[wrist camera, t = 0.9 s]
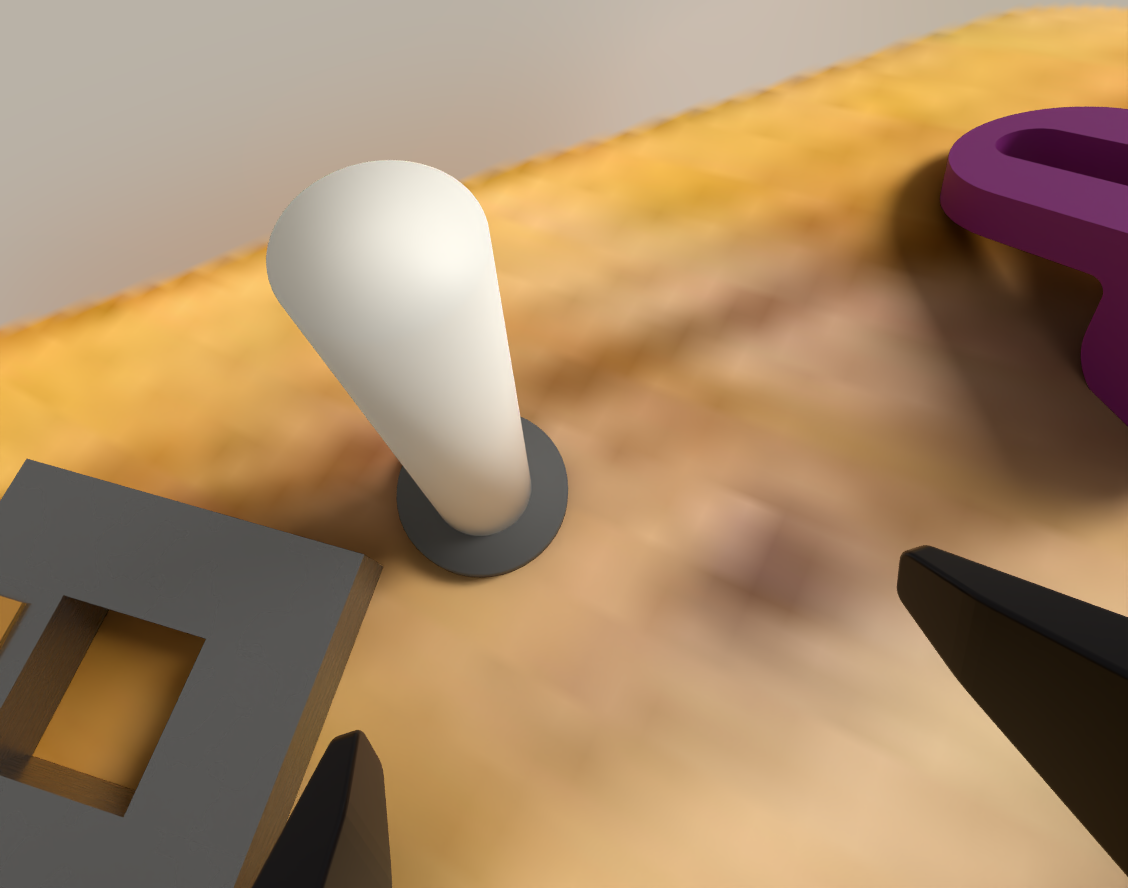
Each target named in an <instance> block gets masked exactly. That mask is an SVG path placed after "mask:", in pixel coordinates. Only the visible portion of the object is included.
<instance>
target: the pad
mask: <svg viewBox="0 0 1128 888" xmlns="http://www.w3.org/2000/svg"><path fill="white" fill-rule="evenodd" d="M520 418H521V424H522V430H523V436H524V442H525V448H526V454H527V460H528V466H529V472H530V478H531V495H530V500H529V502H528V505H527V507H526V509H525V511H524V513H523V514H522V515H521V517H520V518H519V519H518V520H517V521H516V522H515V523H514V524H513V525H511V526H510V527H508V528H507V529H505V530H503V531H501V532H499V533H496V534H492V535H487V536H473V535H468V534H465V533H462V532H459V531H458V530H456V529H454V528H453V527H451V526H450V525H449V524H448V523H446V522H445V520H444V519H443V518H442V517H441V515H440V514H439V513H438V511H437V510H436V509H435V507H434V506H433V505H432V504H431V502H430V501H429V500H428V498H427V497H426V496H425V494H424V493H423V492H422V490H421V489H420V488H419V486H418V485H417V484H416V482H415V481H414V480H413V478H412V477H411V476H410V474H409V473H408V472H407V470H406V469H405V468H404V467H403V465H402V468H401V471H400V474H399V478H398V484H397V508H398V513H399V517H400V520H401V523H402V525H403V528H404V530H405V532H406V533H407V535H408V537H409V539H410V540H411V541H412V543H413V544H414V545H415V546H416V548H417V549H418V550H420V551H421V552H422V553H423V554H424V555H425V556H426V557H427V558H428V559H429V560H431V561H432V562H434V563H435V564H436V565H438V566H440V567H442V568H444V569H446V570H448V571H450V572H453V573H456V574H459V575H464V576H469V577H492V576H498V575H503V574H506V573H509V572H512V571H515V570H517V569H519V568H521V567H523V566H525V565H526V564H528V563H529V562H531V561H532V560H534V559H535V558H536V557H537V556H539V555H540V554H541V553H542V552H543V551H544V550H545V549H546V548H547V547H548V546H549V544H550V543H551V542H552V540H553V539H554V537H555V536H556V534H557V532H558V530H559V528H560V527H561V524H562V522H563V519H564V516H565V512H566V507H567V499H568V480H567V474H566V469H565V465H564V462H563V460H562V457H561V455H560V453H559V451H558V449H557V447H556V446H555V445H554V443H553V442H552V440H551V439H550V438H549V437H548V436H547V435H546V434H545V433H544V432H543V431H542V430H541V429H540V428H539V427H537V426H536V425H535V424H533V423H531V422H530V421H528V420H527V419H524V418H522V417H520Z"/></svg>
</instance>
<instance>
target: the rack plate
mask: <svg viewBox="0 0 1128 888" xmlns="http://www.w3.org/2000/svg"><path fill="white" fill-rule="evenodd" d="M382 568H383V566H382V565H380V564H379V563H377V562H376V561H374V560H372V559H371V558H369V557H367V556H366V555H364V554H361V553H357V552H354V551H350V550H347V549H343V548H339V547H336V546H332V545H329V544H325V543H322V542H318V541H315V540H311V539H308V538H304V537H301V536H297V535H294V534H290V533H287V532H283V531H280V530H276V529H273V528H269V527H266V526H262V525H258V524H255V523H251V522H248V521H244V520H241V519H237V518H234V517H230V516H227V515H223V514H220V513H216V512H213V511H209V510H206V509H202V508H199V507H195V506H192V505H188V504H185V503H181V502H178V501H174V500H170V499H167V498H163V497H160V496H156V495H153V494H149V493H146V492H142V491H139V490H135V489H132V488H128V487H125V486H121V485H118V484H114V483H111V482H107V481H104V480H100V479H97V478H93V477H89V476H86V475H82V474H79V473H75V472H72V471H68V470H65V469H61V468H58V467H54V466H51V465H47V464H44V463H40V462H37V461H33V460H30V459H26V461H25V462H24V464H23V465H22V467H21V469H20V470H19V472H18V473H17V475H16V477H15V478H14V480H13V481H12V483H11V485H10V486H9V488H8V489H7V491H6V493H5V494H4V496H3V497H2V499H1V501H0V888H251V887H252V885H253V884H254V882H255V880H256V878H257V876H258V874H259V872H260V871H261V869H262V867H263V865H264V863H265V861H266V860H267V858H268V856H269V854H270V852H271V850H272V849H273V847H274V845H275V843H276V841H277V839H278V838H279V836H280V834H281V832H282V830H283V828H284V827H285V824H286V822H287V819H288V816H289V814H290V811H291V808H292V806H293V803H294V801H295V798H296V795H297V793H298V790H299V787H300V785H301V782H302V779H303V777H304V774H305V771H306V769H307V766H308V764H309V761H310V758H311V756H312V753H313V750H314V748H315V745H316V742H317V740H318V737H319V735H320V732H321V729H322V727H323V724H324V721H325V719H326V716H327V713H328V711H329V708H330V706H331V703H332V700H333V698H334V695H335V692H336V690H337V687H338V684H339V682H340V679H341V677H342V674H343V671H344V669H345V666H346V663H347V661H348V658H349V655H350V653H351V650H352V647H353V645H354V642H355V640H356V637H357V634H358V632H359V629H360V626H361V624H362V621H363V618H364V616H365V613H366V611H367V608H368V605H369V603H370V600H371V597H372V595H373V592H374V589H375V587H376V584H377V582H378V579H379V576H380V574H381V571H382ZM109 609H111V610H114V611H117V612H120V613H124V614H127V615H130V616H133V617H137V618H140V619H143V620H146V621H150V622H153V623H156V624H160V625H163V626H166V627H169V628H173V629H176V630H179V631H182V632H186V633H189V634H192V635H195V636H199V637H202V638H205V639H206V640H205V642H204V645H203V647H202V649H201V651H200V653H199V655H198V657H197V660H196V662H195V664H194V666H193V668H192V670H191V673H190V675H189V677H188V679H187V681H186V683H185V686H184V688H183V690H182V692H181V694H180V696H179V699H178V701H177V703H176V705H175V707H174V709H173V712H172V714H171V716H170V718H169V720H168V722H167V724H166V727H165V729H164V731H163V733H162V735H161V737H160V740H159V742H158V744H157V746H156V748H155V750H154V753H153V755H152V757H151V759H150V761H149V763H148V766H147V768H146V770H145V772H144V774H143V776H142V779H141V781H140V783H139V785H138V787H137V789H136V791H135V790H132V789H129V788H126V787H123V786H120V785H117V784H114V783H111V782H108V781H105V780H102V779H99V778H96V777H93V776H90V775H87V774H84V773H81V772H78V771H75V770H72V769H69V768H66V767H63V766H60V765H58V764H55V763H52V762H49V761H46V760H43V759H40V758H37V757H34V756H32V754H33V752H34V750H35V748H36V747H37V745H38V743H39V741H40V739H41V737H42V735H43V733H44V731H45V729H46V727H47V726H48V724H49V722H50V720H51V718H52V716H53V714H54V712H55V710H56V708H57V707H58V705H59V703H60V701H61V699H62V697H63V695H64V693H65V691H66V689H67V688H68V686H69V684H70V682H71V680H72V678H73V676H74V674H75V672H76V670H77V669H78V667H79V665H80V663H81V661H82V659H83V657H84V655H85V653H86V651H87V650H88V648H89V646H90V644H91V642H92V640H93V638H94V636H95V634H96V632H97V630H98V629H99V627H100V625H101V623H102V621H103V619H104V617H105V615H106V613H107V611H108V610H109Z"/></svg>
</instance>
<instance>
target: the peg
mask: <svg viewBox="0 0 1128 888" xmlns="http://www.w3.org/2000/svg"><path fill="white" fill-rule="evenodd" d="M266 265H267V273H268V279H269V282H270V285H271V287H272V290H273V292H274V294H275V296H276V298H277V299H278V301H279V303H280V304H281V305H282V307H283V308H284V309H285V311H286V312H287V313H288V315H289V316H290V317H291V319H292V320H293V321H294V322H295V324H296V325H297V326H298V328H299V329H300V330H301V332H302V333H303V334H304V336H305V337H306V338H307V340H308V341H309V342H310V344H311V345H312V346H313V348H314V349H315V350H316V352H317V353H318V354H319V356H320V357H321V358H322V359H323V361H324V362H325V363H326V365H327V366H328V367H329V369H330V370H331V371H332V373H333V374H334V375H335V377H336V378H337V379H338V381H339V382H340V383H341V385H342V386H343V387H344V389H345V390H346V391H347V393H348V394H349V395H350V396H351V398H352V399H353V400H354V402H355V403H356V404H357V406H358V407H359V408H360V410H361V411H362V412H363V414H364V415H365V416H366V418H367V419H368V420H369V422H370V423H371V424H372V426H373V427H374V428H375V430H376V431H377V432H378V433H379V435H380V436H381V437H382V439H383V440H384V441H385V443H386V444H387V445H388V447H389V448H390V449H391V451H392V452H393V453H394V455H395V456H396V457H397V459H398V460H399V461H400V463H401V464H402V465H403V467H404V468H405V469H406V470H407V472H408V473H409V474H410V476H411V477H412V478H413V480H414V481H415V482H416V484H417V485H418V486H419V488H420V489H421V490H422V492H423V493H424V494H425V496H426V497H427V498H428V500H429V501H430V502H431V504H432V505H433V506H434V507H435V509H436V510H437V511H438V513H439V514H440V515H441V517H442V518H443V519H444V520H445V522H446V523H448V524H449V525H450V526H451V527H453V528H454V529H456V530H458V531H459V532H462V533H465V534H468V535H473V536H487V535H492V534H496V533H499V532H501V531H503V530H505V529H507V528H508V527H510V526H511V525H513V524H514V523H515V522H516V521H517V520H518V519H519V518H520V517H521V515H522V514H523V513H524V511H525V509H526V507H527V505H528V502H529V500H530V495H531V478H530V472H529V466H528V460H527V454H526V448H525V442H524V436H523V430H522V424H521V418H520V412H519V406H518V400H517V394H516V389H515V383H514V377H513V371H512V365H511V359H510V353H509V347H508V341H507V335H506V329H505V323H504V317H503V311H502V305H501V299H500V293H499V287H498V281H497V275H496V269H495V263H494V257H493V251H492V245H491V239H490V233H489V227H488V222H487V219H486V217H485V214H484V211H483V210H482V208H481V206H480V204H479V202H478V201H477V199H476V198H475V197H474V196H473V194H472V193H471V192H470V191H469V190H468V189H467V188H466V187H465V186H464V185H463V184H462V183H460V182H459V181H457V180H456V179H455V178H453V177H452V176H450V175H448V174H446V173H445V172H443V171H441V170H438V169H436V168H433V167H430V166H427V165H423V164H420V163H415V162H409V161H399V160H380V161H371V162H364V163H360V164H356V165H352V166H348V167H345V168H343V169H340V170H337V171H335V172H333V173H331V174H329V175H326V176H324V177H323V178H321V179H319V180H317V181H316V182H314V183H313V184H311V185H310V186H309V187H307V188H306V189H305V190H303V191H302V192H301V193H300V194H299V195H298V196H297V197H296V198H294V200H292V201H291V203H290V204H289V205H288V206H287V208H286V209H285V210H284V211H283V213H282V215H281V216H280V217H279V219H278V220H277V222H276V224H275V226H274V229H273V231H272V233H271V236H270V240H269V243H268V248H267V255H266Z"/></svg>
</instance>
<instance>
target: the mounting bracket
mask: <svg viewBox="0 0 1128 888" xmlns="http://www.w3.org/2000/svg"><path fill="white" fill-rule="evenodd" d="M940 203H941V206H942V209H943V210H944V212H945V213H946V215H947V216H948V217H949V218H950V219H951V220H953V221H954V222H955V223H956V224H958V225H960V226H961V227H963V228H965V229H967V230H969V231H971V232H973V233H975V234H978V235H980V236H983V237H986V238H989V239H992V240H994V241H997V242H1000V243H1003V244H1006V245H1009V246H1011V247H1014V248H1017V249H1020V250H1023V251H1026V252H1028V253H1031V254H1034V255H1037V256H1040V257H1043V258H1045V259H1048V260H1051V261H1054V262H1057V263H1060V264H1062V265H1065V266H1068V267H1071V268H1074V269H1077V270H1079V271H1082V272H1085V273H1088V274H1091V275H1093V276H1094V277H1096V278H1097V279H1098V280H1099V281H1100V283H1101V285H1102V287H1103V296H1102V298H1101V300H1100V303H1099V305H1098V307H1097V309H1096V311H1095V313H1094V315H1093V317H1092V320H1091V322H1090V324H1089V326H1088V328H1087V330H1086V333H1085V335H1084V338H1083V342H1082V346H1081V365H1082V370H1083V374H1084V377H1085V380H1086V382H1087V385H1088V387H1089V389H1090V390H1091V391H1092V392H1093V393H1094V394H1095V395H1096V396H1097V397H1098V398H1099V399H1100V400H1101V401H1102V402H1103V403H1104V404H1105V405H1106V406H1107V407H1108V408H1109V409H1110V410H1112V411H1113V412H1114V413H1115V414H1116V415H1117V416H1118V417H1119V418H1120V419H1121V420H1122V421H1123V422H1124V423H1125V424H1126V425H1127V426H1128V109H1121V108H1109V107H1062V108H1051V109H1042V110H1035V111H1029V112H1024V113H1019V114H1014V115H1010V116H1006V117H1003V118H999V119H996V120H993V121H990V122H988V123H985V124H983V125H981V126H978V127H976V128H974V129H973V130H971V131H969V132H967V133H966V134H964V135H963V136H962V137H961V138H959V139H958V140H957V141H956V142H955V143H954V145H953V146H952V148H951V150H950V153H949V157H948V161H947V166H946V171H945V175H944V180H943V184H942V189H941V194H940Z"/></svg>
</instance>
